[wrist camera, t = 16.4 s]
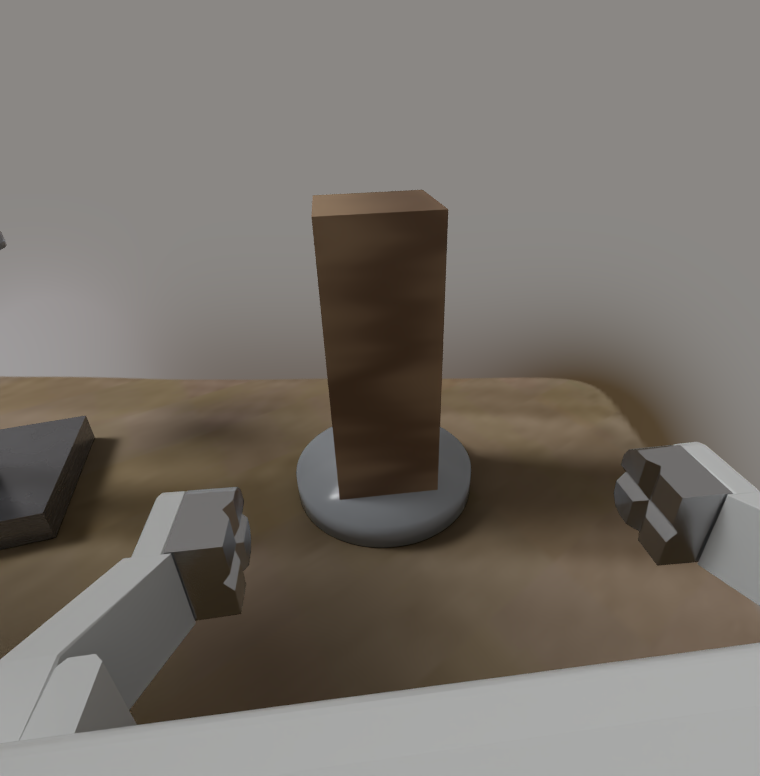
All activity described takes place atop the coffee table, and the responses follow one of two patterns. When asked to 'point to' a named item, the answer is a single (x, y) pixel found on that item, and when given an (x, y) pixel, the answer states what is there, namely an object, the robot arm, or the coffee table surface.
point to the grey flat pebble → (382, 498)
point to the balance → (39, 475)
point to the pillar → (383, 335)
